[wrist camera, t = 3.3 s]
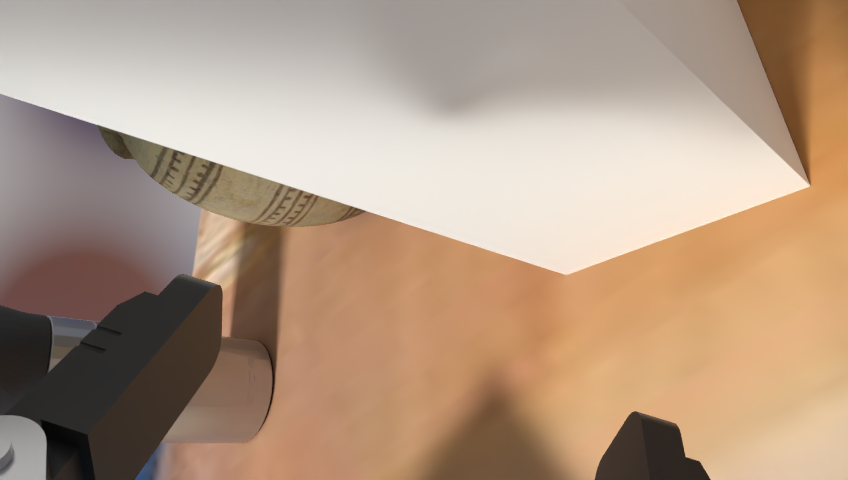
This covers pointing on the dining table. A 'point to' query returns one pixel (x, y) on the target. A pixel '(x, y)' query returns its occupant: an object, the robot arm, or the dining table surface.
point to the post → (437, 107)
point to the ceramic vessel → (227, 187)
